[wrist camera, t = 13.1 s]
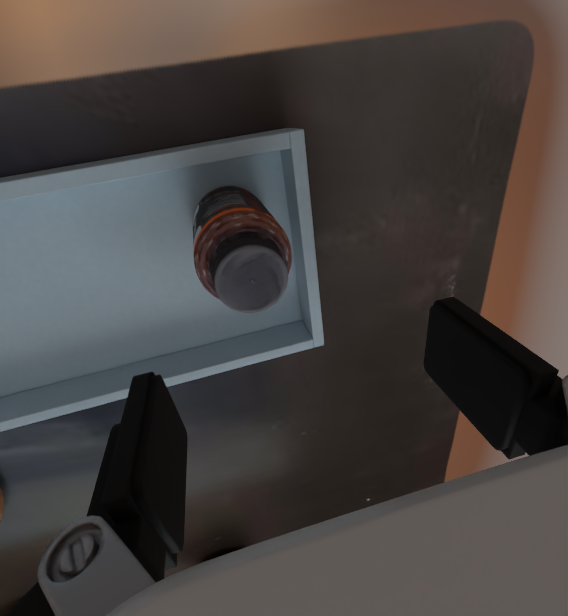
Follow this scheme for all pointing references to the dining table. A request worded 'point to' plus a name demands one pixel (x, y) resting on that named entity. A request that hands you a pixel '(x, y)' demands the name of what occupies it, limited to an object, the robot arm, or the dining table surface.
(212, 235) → the supplement bottle
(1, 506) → the donut
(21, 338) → the blue-grey tray
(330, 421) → the dining table surface
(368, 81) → the dining table surface
